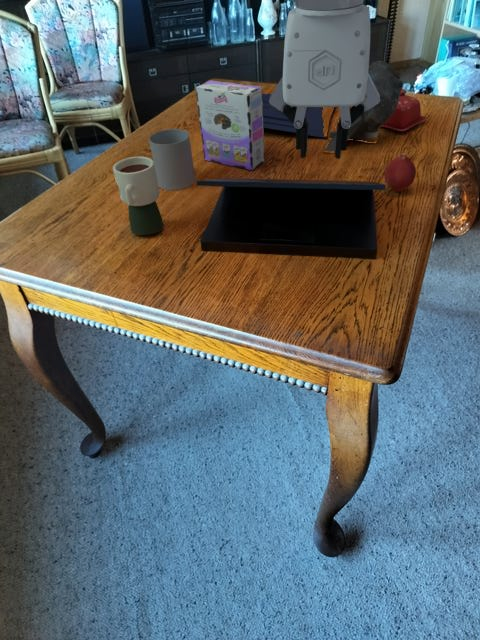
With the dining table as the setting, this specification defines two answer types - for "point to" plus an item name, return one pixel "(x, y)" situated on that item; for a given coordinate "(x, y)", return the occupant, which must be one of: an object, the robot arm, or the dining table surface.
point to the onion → (400, 173)
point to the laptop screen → (293, 184)
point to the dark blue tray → (281, 122)
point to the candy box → (231, 123)
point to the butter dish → (405, 114)
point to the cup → (172, 159)
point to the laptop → (293, 222)
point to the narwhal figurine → (380, 113)
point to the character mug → (139, 193)
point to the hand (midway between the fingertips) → (320, 153)
